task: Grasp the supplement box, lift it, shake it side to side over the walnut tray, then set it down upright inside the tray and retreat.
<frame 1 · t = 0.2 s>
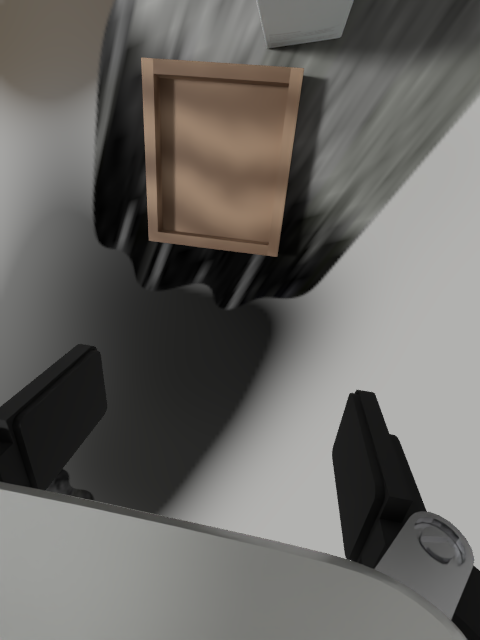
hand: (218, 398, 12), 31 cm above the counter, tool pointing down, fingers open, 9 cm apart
walnut tray: (220, 166, 36), on the counter
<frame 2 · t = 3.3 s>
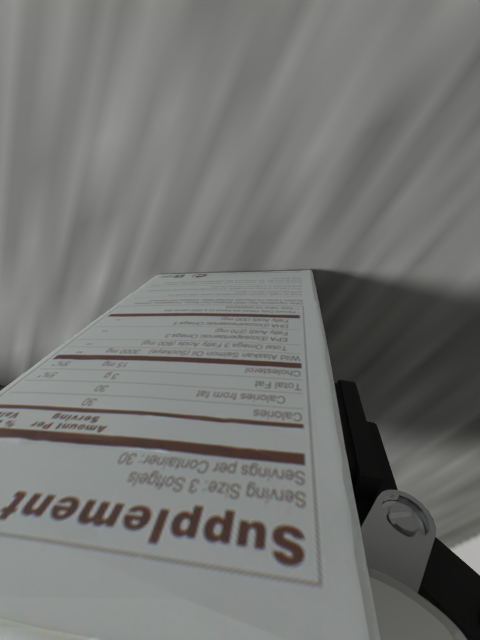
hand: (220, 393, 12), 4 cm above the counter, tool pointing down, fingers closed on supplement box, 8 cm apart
supplement box: (238, 336, 16), on the counter, touching gripper
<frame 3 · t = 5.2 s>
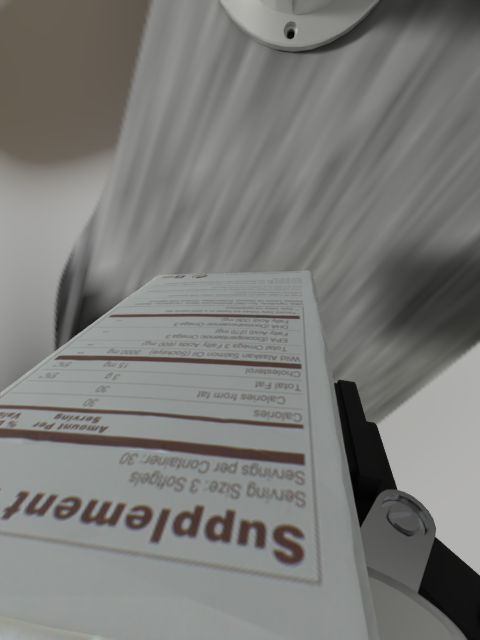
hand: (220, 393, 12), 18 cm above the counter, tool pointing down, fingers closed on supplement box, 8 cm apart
supplement box: (238, 337, 16), point 13 cm above the counter, touching gripper
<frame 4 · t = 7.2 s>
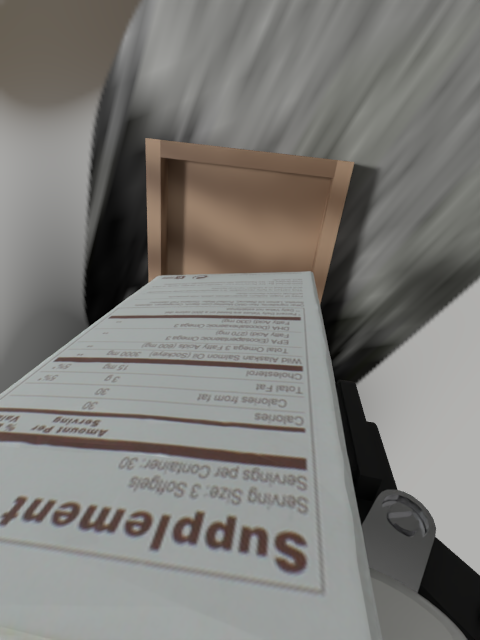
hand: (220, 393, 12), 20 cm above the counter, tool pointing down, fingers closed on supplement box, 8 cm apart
walnut tray: (239, 258, 30), on the counter
supplement box: (238, 338, 16), point 16 cm above the counter, touching gripper
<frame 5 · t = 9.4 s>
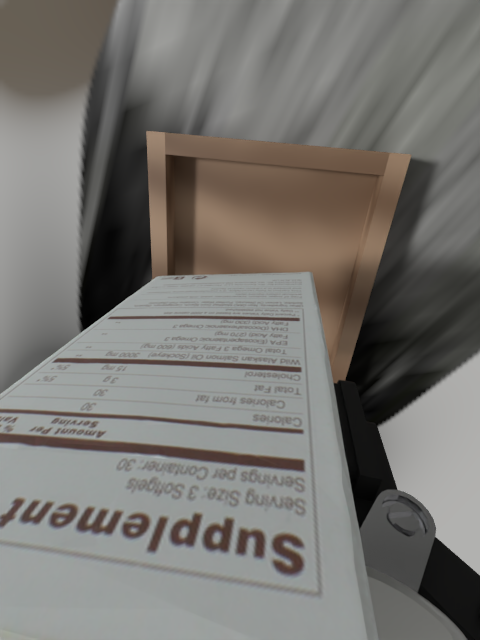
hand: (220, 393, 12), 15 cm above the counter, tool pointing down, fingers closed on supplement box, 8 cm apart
walnut tray: (260, 273, 25), on the counter
supplement box: (238, 338, 16), point 11 cm above the counter, touching gripper
when the fingers open (7 cm above the counter, at t = 11.4 s): supplement box drops 2 cm, resting on walnut tray.
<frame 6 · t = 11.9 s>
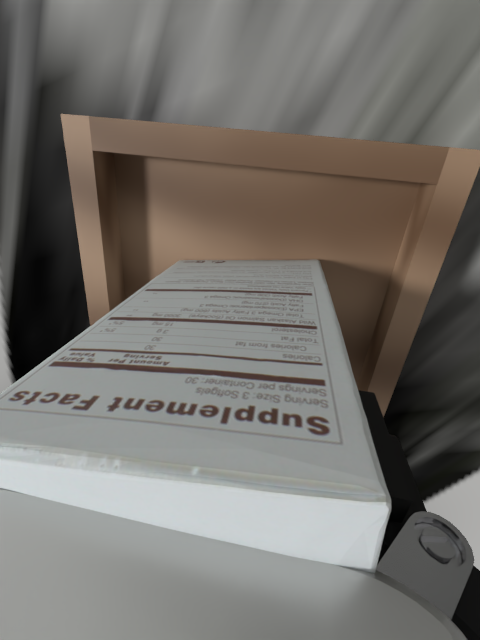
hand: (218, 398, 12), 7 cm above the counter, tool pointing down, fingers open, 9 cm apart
walnut tray: (245, 318, 18), on the counter
supplement box: (249, 319, 17), point 1 cm above the counter, touching walnut tray
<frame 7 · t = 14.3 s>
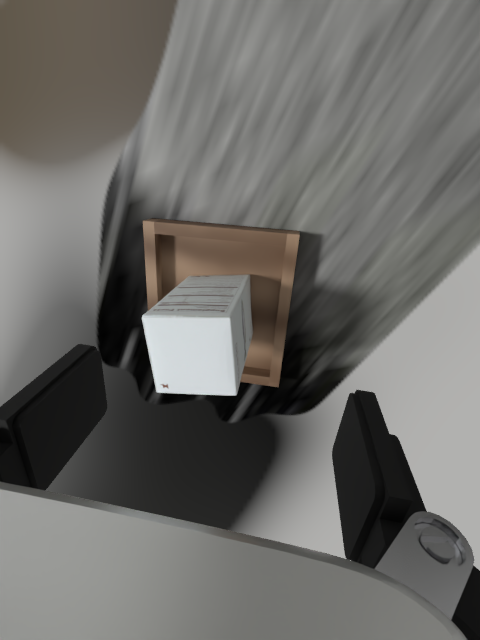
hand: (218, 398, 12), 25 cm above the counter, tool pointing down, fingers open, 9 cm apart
walnut tray: (220, 302, 37), on the counter
supplement box: (222, 303, 37), point 1 cm above the counter, touching walnut tray
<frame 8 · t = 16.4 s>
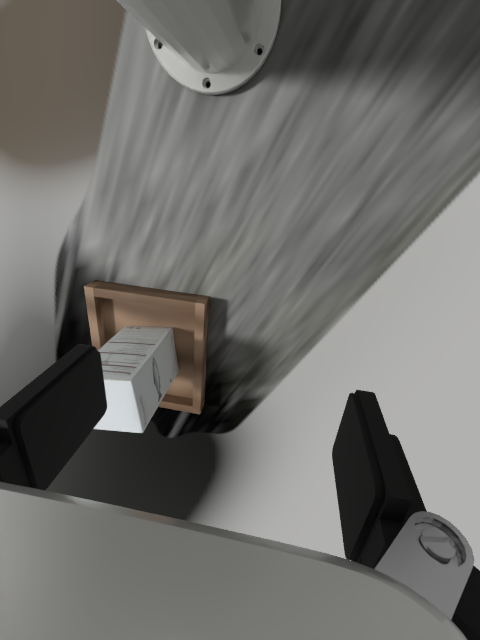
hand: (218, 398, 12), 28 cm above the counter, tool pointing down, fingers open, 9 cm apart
walnut tray: (153, 345, 46), on the counter
supplement box: (153, 347, 45), point 1 cm above the counter, touching walnut tray
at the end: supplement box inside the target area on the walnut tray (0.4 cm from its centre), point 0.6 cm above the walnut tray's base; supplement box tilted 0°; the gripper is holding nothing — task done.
